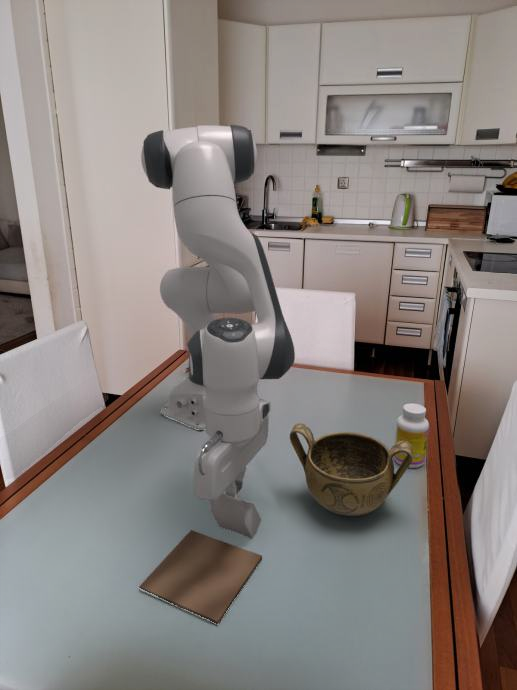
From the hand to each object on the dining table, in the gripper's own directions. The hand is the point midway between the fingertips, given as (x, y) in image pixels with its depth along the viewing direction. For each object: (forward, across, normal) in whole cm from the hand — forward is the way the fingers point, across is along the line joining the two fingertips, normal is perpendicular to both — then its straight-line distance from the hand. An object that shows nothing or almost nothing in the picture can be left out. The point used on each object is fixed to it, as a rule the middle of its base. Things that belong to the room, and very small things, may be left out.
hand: (234, 492), depth 84 cm
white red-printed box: (+8, +2, 0) cm, 8 cm away
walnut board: (+9, -10, +1) cm, 14 cm away
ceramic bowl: (+9, +17, -15) cm, 24 cm away
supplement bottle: (+9, +36, -24) cm, 45 cm away
